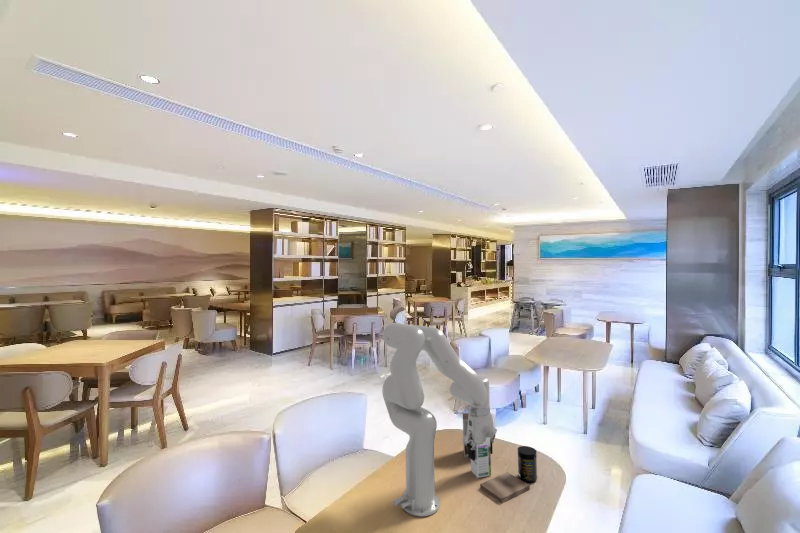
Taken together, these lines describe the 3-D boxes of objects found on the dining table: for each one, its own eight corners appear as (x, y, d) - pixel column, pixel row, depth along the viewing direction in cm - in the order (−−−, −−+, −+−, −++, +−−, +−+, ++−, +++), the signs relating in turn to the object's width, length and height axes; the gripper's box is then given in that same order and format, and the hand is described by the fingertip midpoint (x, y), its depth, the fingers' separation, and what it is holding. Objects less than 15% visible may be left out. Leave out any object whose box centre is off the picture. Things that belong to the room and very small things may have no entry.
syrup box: (477, 478, 134) (476, 439, 135) (470, 470, 140) (469, 432, 140) (491, 476, 136) (490, 437, 136) (483, 468, 142) (483, 430, 142)
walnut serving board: (501, 503, 120) (501, 498, 120) (480, 488, 128) (480, 483, 128) (529, 489, 127) (529, 485, 127) (507, 476, 136) (507, 472, 136)
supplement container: (540, 483, 131) (540, 454, 131) (523, 484, 130) (522, 455, 130) (531, 472, 138) (531, 445, 138) (514, 474, 137) (514, 446, 137)
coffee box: (484, 450, 155) (483, 413, 156) (486, 458, 149) (485, 419, 149) (463, 450, 156) (462, 412, 156) (464, 457, 150) (463, 418, 150)
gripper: (469, 418, 131) (470, 466, 130) (503, 408, 140) (504, 453, 140) (455, 411, 137) (456, 457, 137) (488, 402, 146) (489, 445, 146)
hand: (480, 455), depth 138 cm, fingers open, 8 cm apart
